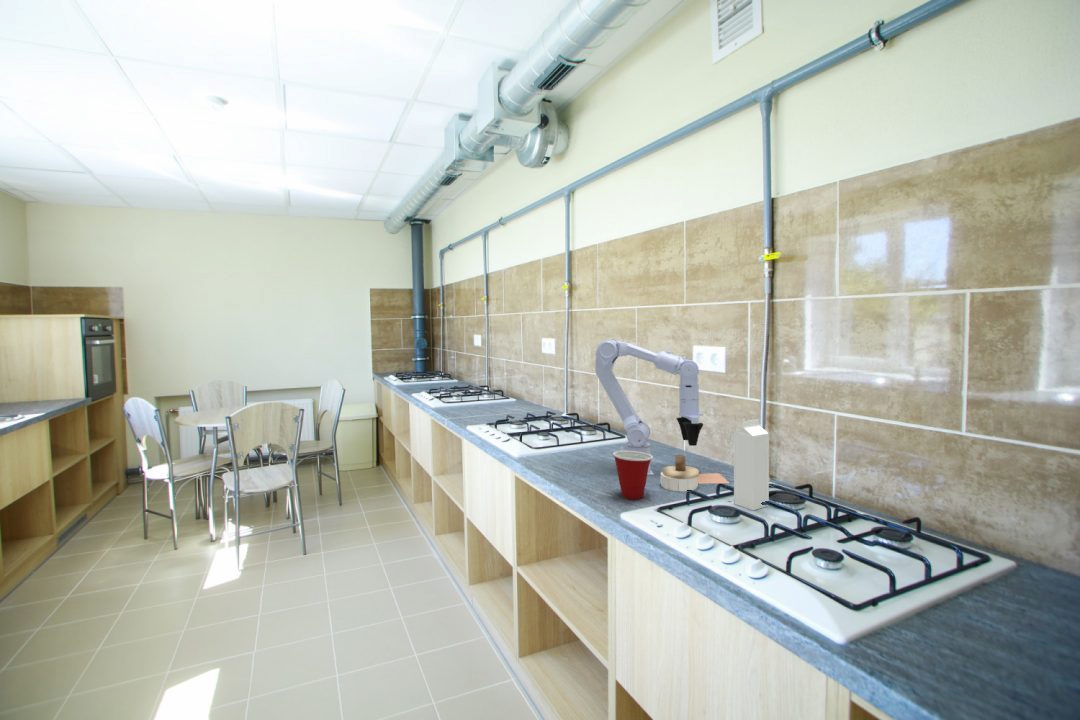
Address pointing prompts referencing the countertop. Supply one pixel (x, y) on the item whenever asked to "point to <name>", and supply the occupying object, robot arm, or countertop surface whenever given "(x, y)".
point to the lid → (680, 469)
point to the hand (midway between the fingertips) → (689, 442)
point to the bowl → (678, 483)
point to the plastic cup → (632, 472)
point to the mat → (711, 478)
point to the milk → (751, 465)
